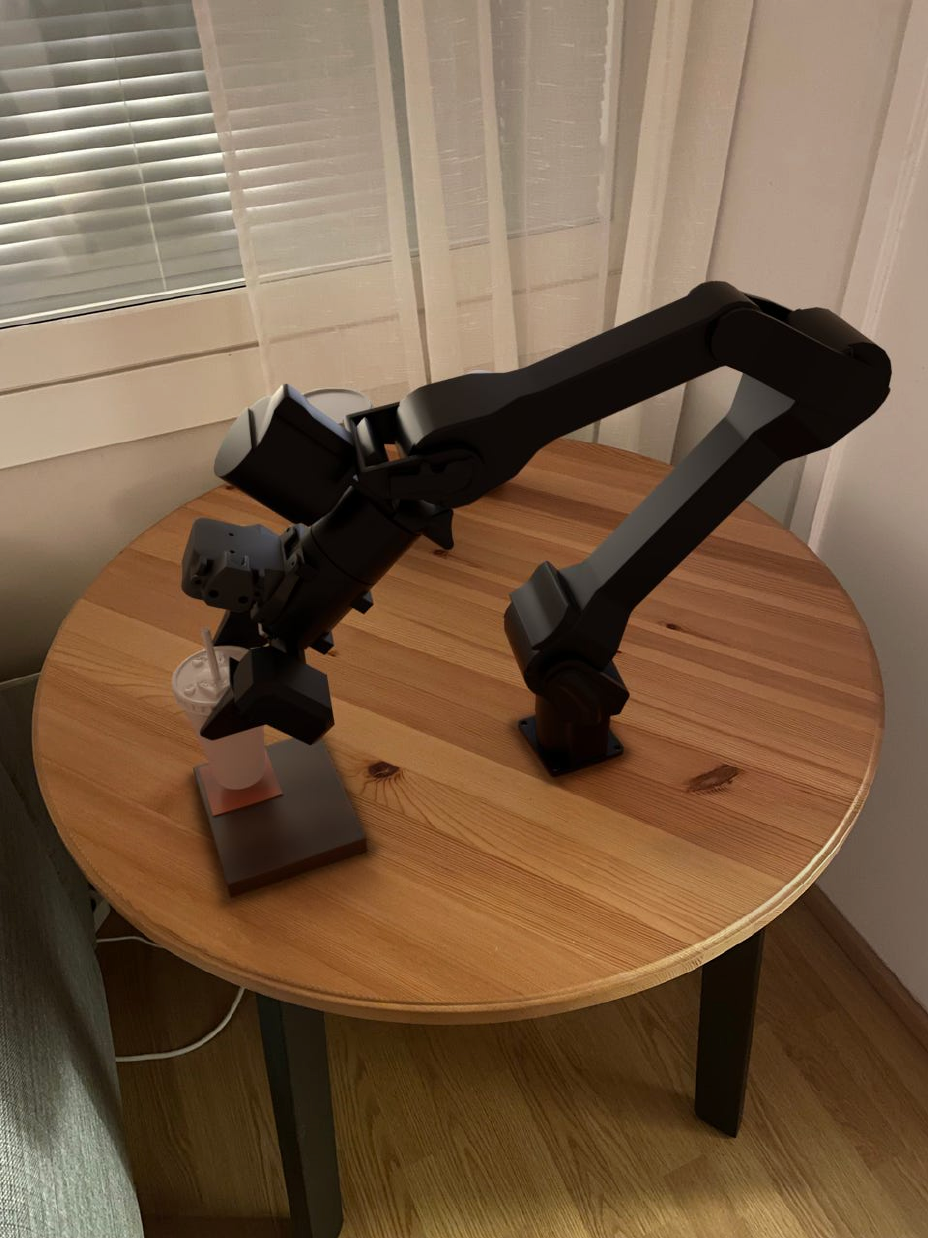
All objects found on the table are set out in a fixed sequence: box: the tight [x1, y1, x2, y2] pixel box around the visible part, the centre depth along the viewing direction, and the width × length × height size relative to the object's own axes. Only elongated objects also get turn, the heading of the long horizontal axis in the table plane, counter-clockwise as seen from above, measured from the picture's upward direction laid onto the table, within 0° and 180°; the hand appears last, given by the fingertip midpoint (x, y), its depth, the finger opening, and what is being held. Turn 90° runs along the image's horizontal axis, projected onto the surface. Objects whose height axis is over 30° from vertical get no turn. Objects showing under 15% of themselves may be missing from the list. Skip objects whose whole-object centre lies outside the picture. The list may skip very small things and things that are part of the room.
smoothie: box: [170, 626, 266, 789], centre depth 71 cm, size 6×6×14 cm
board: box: [192, 737, 368, 898], centre depth 75 cm, size 12×10×2 cm
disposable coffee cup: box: [300, 386, 375, 428], centre depth 106 cm, size 10×10×12 cm
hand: (205, 704), depth 71 cm, fingers closed on smoothie, 6 cm apart
